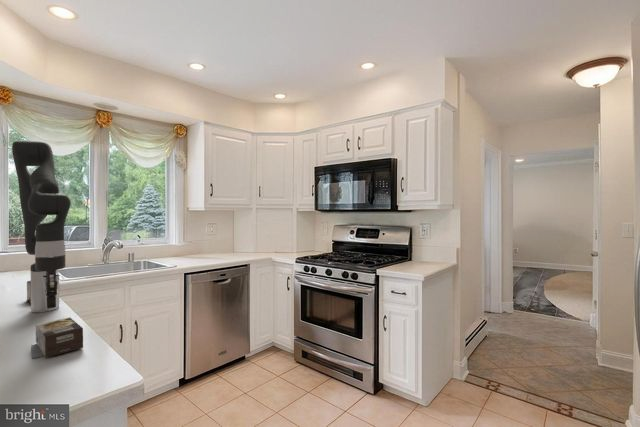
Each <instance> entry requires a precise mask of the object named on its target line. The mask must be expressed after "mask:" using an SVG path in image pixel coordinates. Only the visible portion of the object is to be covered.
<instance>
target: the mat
mask: <svg viewBox="0 0 640 427" xmlns="http://www.w3.org/2000/svg"><path fill="white" fill-rule="evenodd" d="M43 357H45V355H44V354H43V352H42V350H41V349H40V347H39V346H38V344H37V343H33V344H31V360H35V359H39V358H43Z"/></svg>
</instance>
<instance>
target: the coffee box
mask: <svg viewBox="0 0 640 427" xmlns="http://www.w3.org/2000/svg"><path fill="white" fill-rule="evenodd" d="M35 344H38V346H39V347H40V349H41V350H42V352H43V354H44V355H45V356H44V357H45V358H51V357H56V356H58V355H62V354H65V353H69V352H72V351H77V350H80V349H83V348H84V328H83V327H82V326H81V325H80V324H78V322H76V321H75V320H74V319H73V318H71V317H65V318H60V319H55V320H50V321H46V322H45V321H44V322H41V323H36V324H35Z"/></svg>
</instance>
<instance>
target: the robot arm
mask: <svg viewBox="0 0 640 427" xmlns="http://www.w3.org/2000/svg"><path fill="white" fill-rule="evenodd" d="M11 145H12V146H11V151H12V157H13V163H14V167H15V168H14V169H15V171H16V177H17V181H18V189H19V190H18V193H19V200H20V209H21V215H22V219H23V225H24V226H23V227H24V228H23V229H24V230H23V231H24V246H25V251H26V253H27V254H28V255H30V256H31V255H33V256H34V262H33V263H32V264H31V265H30V281H31V303H30V310H31V313H44V312H50V311H54V310H57V309H59V308H60V273H59V270H61V269H62V270H63V269H65V268H66V245H65V244H66V243H65V224H66V219H67V217H68V213H69V212H70V208H71V205H72V204H71V199H70V198H69V196H68V195H67V194H65V193H60V189H59V186H58V185H59V184H58V182H57V180H56V179H57V178H56V172H55V171H56V169H55V160H54V153H53V150H52V147H51V144H49V143H48V142H46V141H42V140H41V141H37V140H15V141H13V142H12V144H11ZM28 167H37V168H35V169H34V170H33V171H32V172H30V171H29V169H28ZM47 216H55V217H54V218H53V220H51V221H45V222H43V221H44V220H45V219H46V218H47Z"/></svg>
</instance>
